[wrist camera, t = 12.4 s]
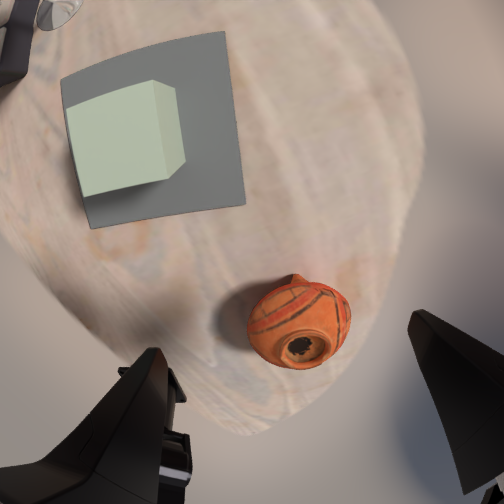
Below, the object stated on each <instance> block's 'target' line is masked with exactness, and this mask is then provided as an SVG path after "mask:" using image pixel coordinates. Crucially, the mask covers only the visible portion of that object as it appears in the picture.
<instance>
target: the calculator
mask: <svg viewBox="0 0 504 504" xmlns="http://www.w3.org/2000/svg"><path fill="white" fill-rule="evenodd" d="M39 1H40V0H2V1H1V2H0V87H2V86H4V85H6V84H9V83H11V82H13V81H16V80H18V79H20V78H23V77H24V76H26V74H27V72H28V64H29V56H30V49H31V42H32V36H33V22H34V18H35V15H36V11H37V8H38V4H39Z"/></svg>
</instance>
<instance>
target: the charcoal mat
mask: <svg viewBox="0 0 504 504" xmlns="http://www.w3.org/2000/svg"><path fill="white" fill-rule="evenodd" d="M150 80H155V81H158V82H160V83H163V84H165V85H168V86H170V87H173V88H175V92H176V100H177V107H178V115H179V122H180V128H181V135H182V141H183V148H184V154H185V160H186V162H185V163H184V164H183V165H182V166H181V167H180V168H179V169H178V170H177V171H176V172H175V173H174V174H173V175H172V176H171V177H170V178H169V179H164V180H159V181H154V182H148V183H143V184H139V185H134V186H129V187H124V188H120V189H116V190H111V191H107V192H103V193H99V194H95V195H91V196H87V197H84V196H83V193H82V189H81V185H80V181H79V176H78V172H77V168H76V163H75V159H74V154H73V149H72V143H71V138H70V132H69V126H68V119H67V112H66V109H68V108H70V107H72V106H75V105H77V104H80V103H82V102H85V101H87V100H90V99H93V98H95V97H98V96H101V95H104V94H107V93H110V92H112V91H116V90H119V89H122V88H125V87H128V86H132V85H135V84H139V83H142V82H146V81H150ZM61 89H62V99H63V107H64V114H65V121H66V128H67V133H68V139H69V145H70V150H71V155H72V159H73V164H74V168H75V173H76V177H77V181H78V185H79V189H80V193H81V196H82V200H83V204H84V207H85V211H86V214H87V217H88V221H89V224H90V227H91V229H95V228H100V227H105V226H110V225H116V224H121V223H126V222H132V221H138V220H143V219H149V218H155V217H161V216H167V215H174V214H180V213H187V212H193V211H200V210H207V209H214V208H222V207H229V206H237V205H245V204H246V198H245V190H244V182H243V174H242V166H241V158H240V150H239V142H238V134H237V126H236V118H235V110H234V102H233V94H232V86H231V78H230V70H229V62H228V54H227V46H226V38H225V31H220V32H213V33H207V34H201V35H195V36H190V37H185V38H180V39H175V40H171V41H167V42H163V43H159V44H155V45H151V46H148V47H144V48H141V49H137V50H134V51H131V52H128V53H125V54H122V55H119V56H116V57H113V58H110V59H107V60H105V61H102V62H100V63H97V64H95V65H92V66H90V67H87V68H85V69H83V70H80V71H78V72H76V73H73V74H71V75H69V76H67V77H65V78H63V79H61Z"/></svg>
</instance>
